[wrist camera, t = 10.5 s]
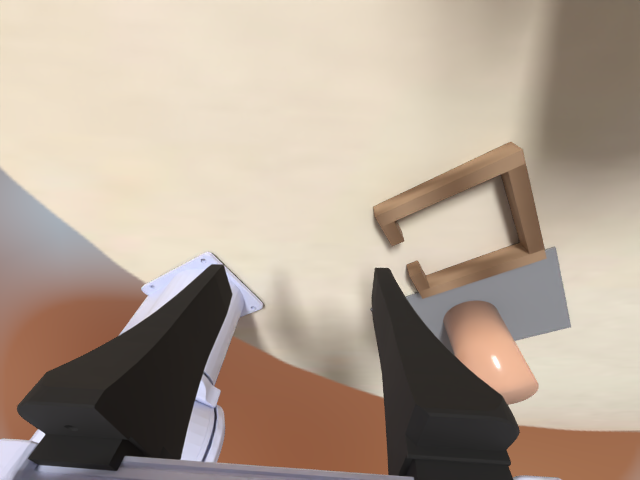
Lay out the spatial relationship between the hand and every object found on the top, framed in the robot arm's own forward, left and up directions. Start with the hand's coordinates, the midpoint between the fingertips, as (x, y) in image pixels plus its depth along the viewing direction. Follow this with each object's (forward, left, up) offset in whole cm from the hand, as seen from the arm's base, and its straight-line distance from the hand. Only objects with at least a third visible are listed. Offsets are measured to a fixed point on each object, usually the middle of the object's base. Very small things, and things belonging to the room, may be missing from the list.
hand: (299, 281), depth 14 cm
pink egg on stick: (+5, -21, -9) cm, 23 cm away
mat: (+6, -19, -9) cm, 22 cm away
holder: (+8, -8, -9) cm, 15 cm away
